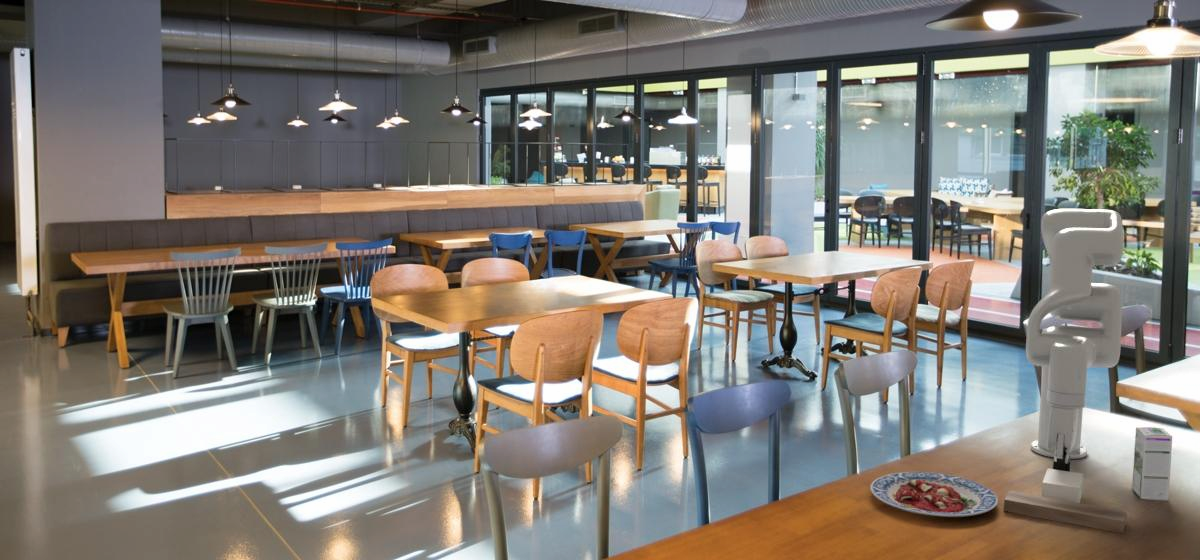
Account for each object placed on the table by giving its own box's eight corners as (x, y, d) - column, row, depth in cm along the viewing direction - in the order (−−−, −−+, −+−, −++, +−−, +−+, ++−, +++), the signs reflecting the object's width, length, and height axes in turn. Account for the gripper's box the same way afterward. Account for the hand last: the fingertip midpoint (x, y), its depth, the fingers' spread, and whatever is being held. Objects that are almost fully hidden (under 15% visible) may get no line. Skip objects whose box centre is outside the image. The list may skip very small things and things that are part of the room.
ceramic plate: (848, 503, 206) (848, 490, 205) (903, 472, 224) (903, 460, 224) (967, 536, 188) (968, 522, 188) (1015, 500, 207) (1016, 486, 206)
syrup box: (1169, 501, 205) (1174, 435, 203) (1139, 499, 206) (1144, 434, 204) (1159, 491, 211) (1164, 427, 209) (1130, 489, 212) (1135, 426, 210)
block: (1046, 490, 213) (1047, 468, 212) (1081, 495, 209) (1083, 473, 208) (1040, 504, 204) (1042, 482, 203) (1077, 511, 201) (1079, 488, 200)
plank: (1009, 501, 205) (1009, 490, 205) (1125, 523, 193) (1126, 511, 193) (1003, 510, 200) (1004, 499, 200) (1123, 533, 188) (1124, 521, 188)
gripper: (1052, 388, 218) (1047, 466, 221) (1041, 403, 206) (1036, 485, 209) (1089, 393, 214) (1083, 472, 217) (1080, 408, 202) (1075, 492, 205)
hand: (1060, 478), depth 213 cm, fingers closed
